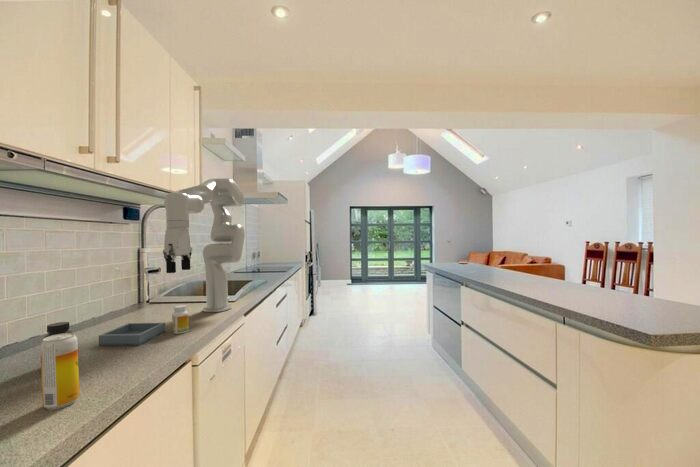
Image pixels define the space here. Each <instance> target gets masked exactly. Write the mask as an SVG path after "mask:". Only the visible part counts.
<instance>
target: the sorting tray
mask: <svg viewBox="0 0 700 467" xmlns="http://www.w3.org/2000/svg"><path fill="white" fill-rule="evenodd" d="M164 333H166V322H129V323H126V324H124V325H120V326H118V327H116V328H114V329H113V328H112V330H109V331H106V332H103V333H102V334H98V346H99V347H104V346H105V347H118V346H119V347H121V346H122V347H123V346H124V347H127V346H131V347H132V346H135V347H136V346H142V345H143V344H145V343H147V342H149V341H151V340H152V339H155V338H156V337H159V336H160V335H162V334H164Z"/></svg>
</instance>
